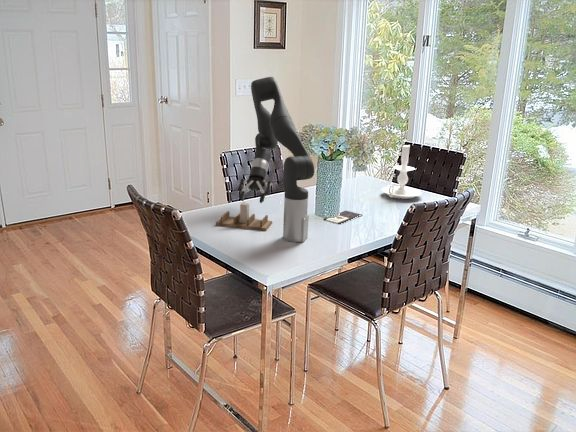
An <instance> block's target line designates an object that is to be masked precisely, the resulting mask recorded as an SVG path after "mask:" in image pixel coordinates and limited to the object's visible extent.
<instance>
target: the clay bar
mask: <svg viewBox="0 0 576 432" xmlns="http://www.w3.org/2000/svg"><path fill="white" fill-rule="evenodd" d="M239 213H240V223H247V219H248V218H249V217H250V203H249V202H241V203H240V206H239Z"/></svg>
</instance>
